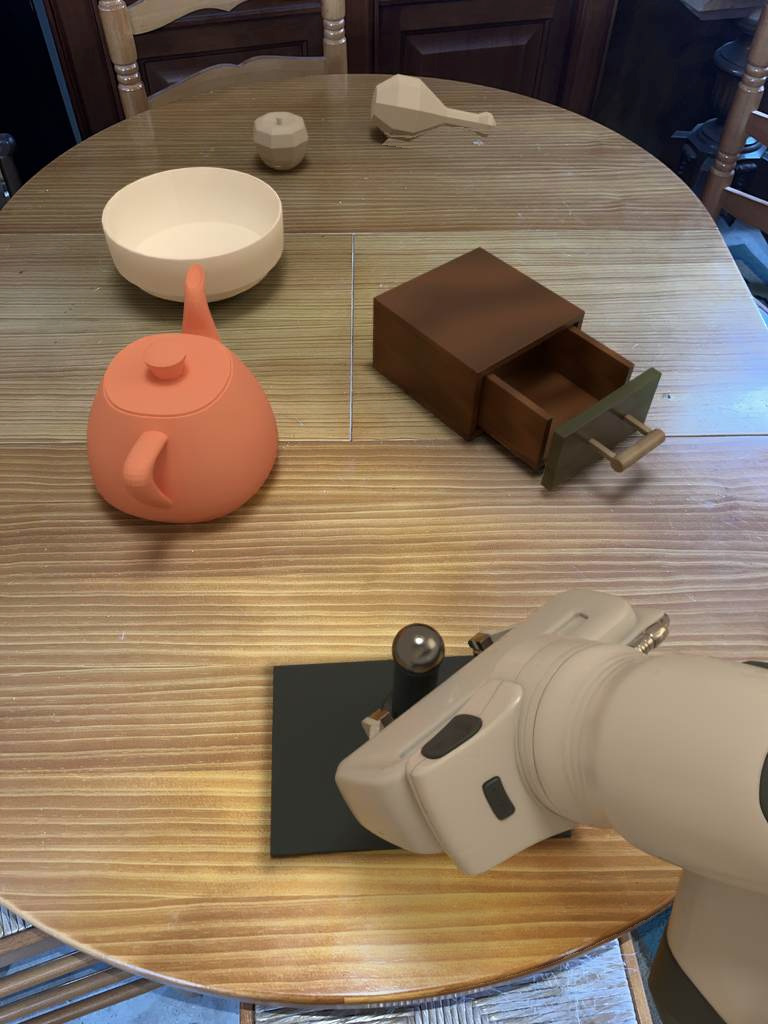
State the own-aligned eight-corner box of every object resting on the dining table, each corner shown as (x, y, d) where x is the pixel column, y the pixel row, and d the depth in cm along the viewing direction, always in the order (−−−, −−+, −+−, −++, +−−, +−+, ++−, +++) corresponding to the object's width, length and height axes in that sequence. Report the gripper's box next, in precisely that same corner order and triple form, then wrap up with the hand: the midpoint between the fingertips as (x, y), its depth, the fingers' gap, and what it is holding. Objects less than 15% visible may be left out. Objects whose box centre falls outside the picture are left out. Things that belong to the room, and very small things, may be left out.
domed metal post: (454, 723, 59) (469, 639, 51) (408, 760, 57) (416, 680, 49) (413, 681, 61) (422, 594, 53) (368, 716, 60) (369, 631, 51)
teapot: (139, 368, 85) (108, 253, 75) (298, 377, 85) (289, 263, 75) (62, 557, 69) (9, 445, 59) (258, 570, 69) (240, 459, 58)
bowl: (140, 345, 88) (123, 277, 81) (103, 251, 99) (85, 185, 93) (311, 303, 93) (308, 236, 87) (257, 219, 105) (250, 154, 98)
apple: (317, 155, 116) (315, 108, 111) (301, 181, 111) (298, 133, 106) (264, 148, 117) (259, 101, 112) (246, 174, 112) (240, 126, 107)
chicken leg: (494, 157, 118) (507, 94, 115) (373, 135, 115) (383, 68, 111) (479, 155, 126) (491, 95, 122) (365, 133, 122) (374, 71, 118)
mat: (531, 655, 64) (532, 651, 63) (570, 837, 55) (572, 834, 54) (274, 669, 63) (273, 665, 62) (270, 858, 54) (270, 855, 53)
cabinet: (568, 380, 85) (585, 311, 79) (468, 442, 79) (477, 373, 72) (471, 314, 92) (479, 246, 86) (372, 366, 86) (373, 297, 80)
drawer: (678, 451, 77) (700, 397, 72) (585, 519, 72) (602, 466, 67) (540, 358, 86) (552, 304, 81) (448, 412, 80) (454, 358, 75)
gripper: (665, 567, 46) (516, 563, 58) (390, 794, 37) (283, 734, 50) (706, 661, 47) (552, 638, 60) (449, 902, 39) (330, 817, 51)
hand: (428, 683), depth 55 cm, fingers open, 8 cm apart
